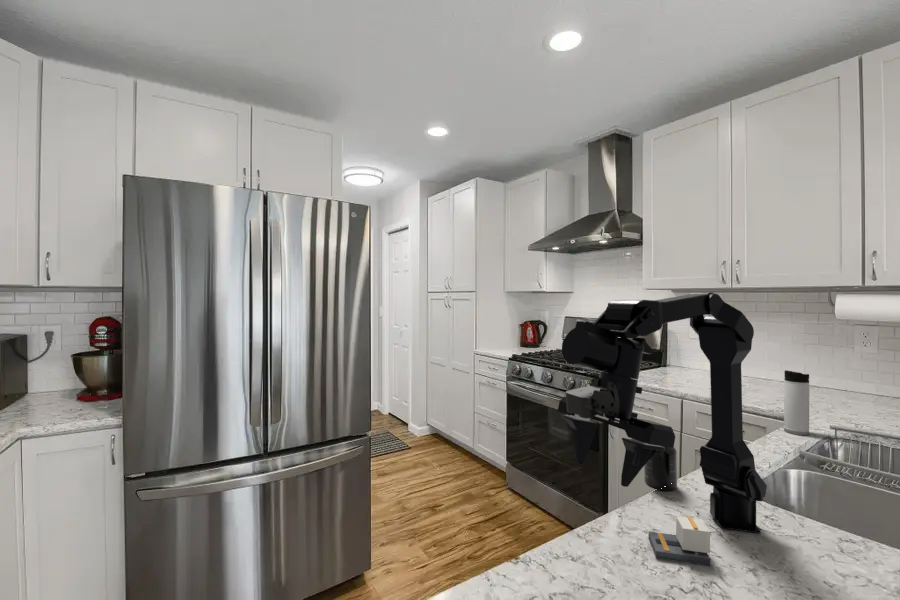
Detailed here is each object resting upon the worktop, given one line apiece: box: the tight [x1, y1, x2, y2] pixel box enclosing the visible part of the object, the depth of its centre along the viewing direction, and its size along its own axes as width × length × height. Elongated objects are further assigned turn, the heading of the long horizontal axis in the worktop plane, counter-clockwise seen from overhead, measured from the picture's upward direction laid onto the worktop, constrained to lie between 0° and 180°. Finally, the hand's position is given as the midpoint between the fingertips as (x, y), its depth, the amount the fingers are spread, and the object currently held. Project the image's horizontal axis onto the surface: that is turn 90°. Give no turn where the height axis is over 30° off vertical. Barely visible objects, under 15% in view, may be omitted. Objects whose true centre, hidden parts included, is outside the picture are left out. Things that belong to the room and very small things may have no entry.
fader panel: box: [648, 531, 711, 567], centre depth 71 cm, size 8×6×1 cm
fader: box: [675, 516, 711, 554], centre depth 70 cm, size 4×4×4 cm
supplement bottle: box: [643, 446, 678, 492], centre depth 96 cm, size 7×7×12 cm
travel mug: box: [783, 369, 810, 436], centre depth 135 cm, size 6×7×20 cm
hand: (600, 474), depth 65 cm, fingers open, 9 cm apart
